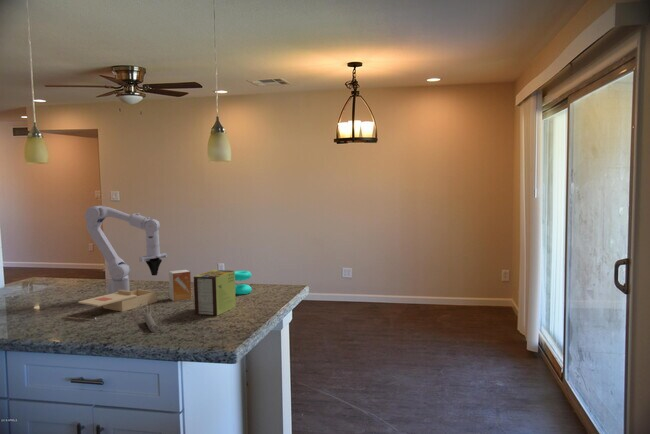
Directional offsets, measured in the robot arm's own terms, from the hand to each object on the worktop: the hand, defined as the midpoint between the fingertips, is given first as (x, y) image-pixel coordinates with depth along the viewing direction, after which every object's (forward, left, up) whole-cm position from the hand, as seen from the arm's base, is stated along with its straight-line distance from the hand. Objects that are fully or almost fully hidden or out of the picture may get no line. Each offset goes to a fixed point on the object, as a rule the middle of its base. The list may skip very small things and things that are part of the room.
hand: (154, 275), depth 232 cm
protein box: (+41, -5, -11) cm, 43 cm away
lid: (+3, -27, -5) cm, 28 cm away
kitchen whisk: (+29, -29, -11) cm, 43 cm away
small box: (+14, +2, -11) cm, 18 cm away
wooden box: (+3, -16, -10) cm, 19 cm away
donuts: (+30, +25, -11) cm, 40 cm away
